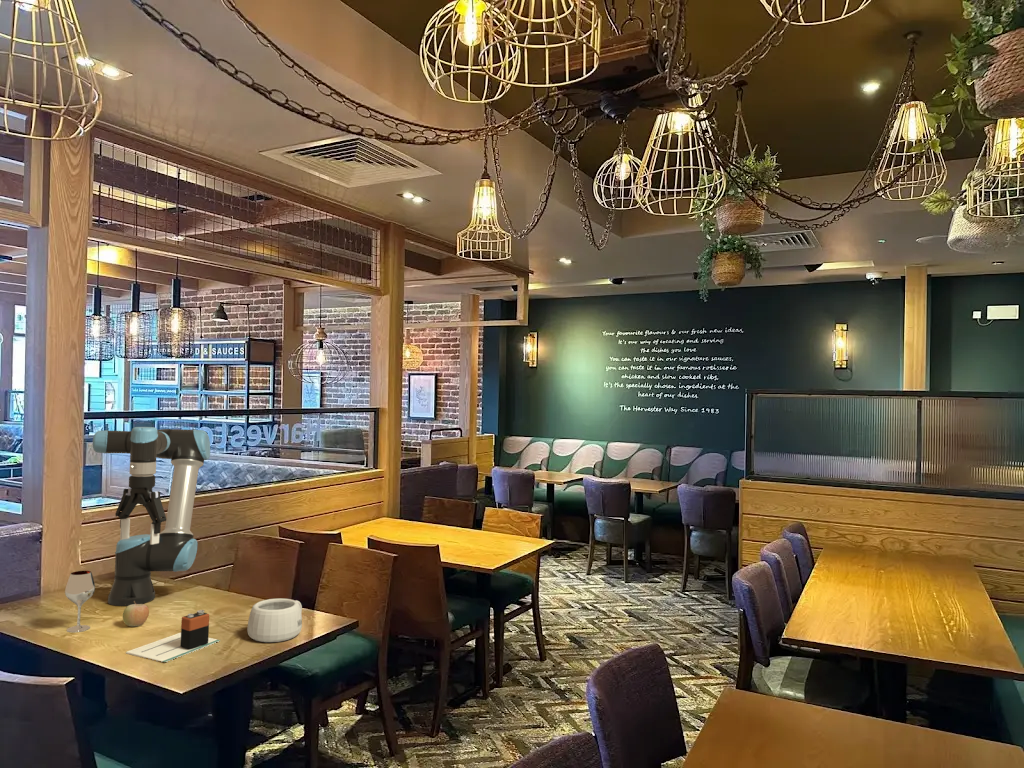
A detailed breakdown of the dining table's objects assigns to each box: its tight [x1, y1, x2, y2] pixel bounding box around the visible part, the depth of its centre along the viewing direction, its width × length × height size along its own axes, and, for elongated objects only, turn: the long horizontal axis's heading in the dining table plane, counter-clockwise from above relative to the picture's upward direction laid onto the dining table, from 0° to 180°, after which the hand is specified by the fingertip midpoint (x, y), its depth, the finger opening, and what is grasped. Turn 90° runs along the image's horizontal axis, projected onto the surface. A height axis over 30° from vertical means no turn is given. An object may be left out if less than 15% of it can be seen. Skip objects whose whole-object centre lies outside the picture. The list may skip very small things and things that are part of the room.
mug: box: [246, 598, 303, 643], centre depth 223 cm, size 21×17×10 cm
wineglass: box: [64, 570, 96, 633], centre depth 220 cm, size 8×8×18 cm
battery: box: [180, 609, 210, 649], centre depth 208 cm, size 4×7×10 cm, turn 149°
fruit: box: [122, 601, 150, 627], centre depth 225 cm, size 8×7×8 cm
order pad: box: [125, 632, 221, 663], centre depth 207 cm, size 20×16×1 cm
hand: (139, 541), depth 220 cm, fingers open, 13 cm apart
